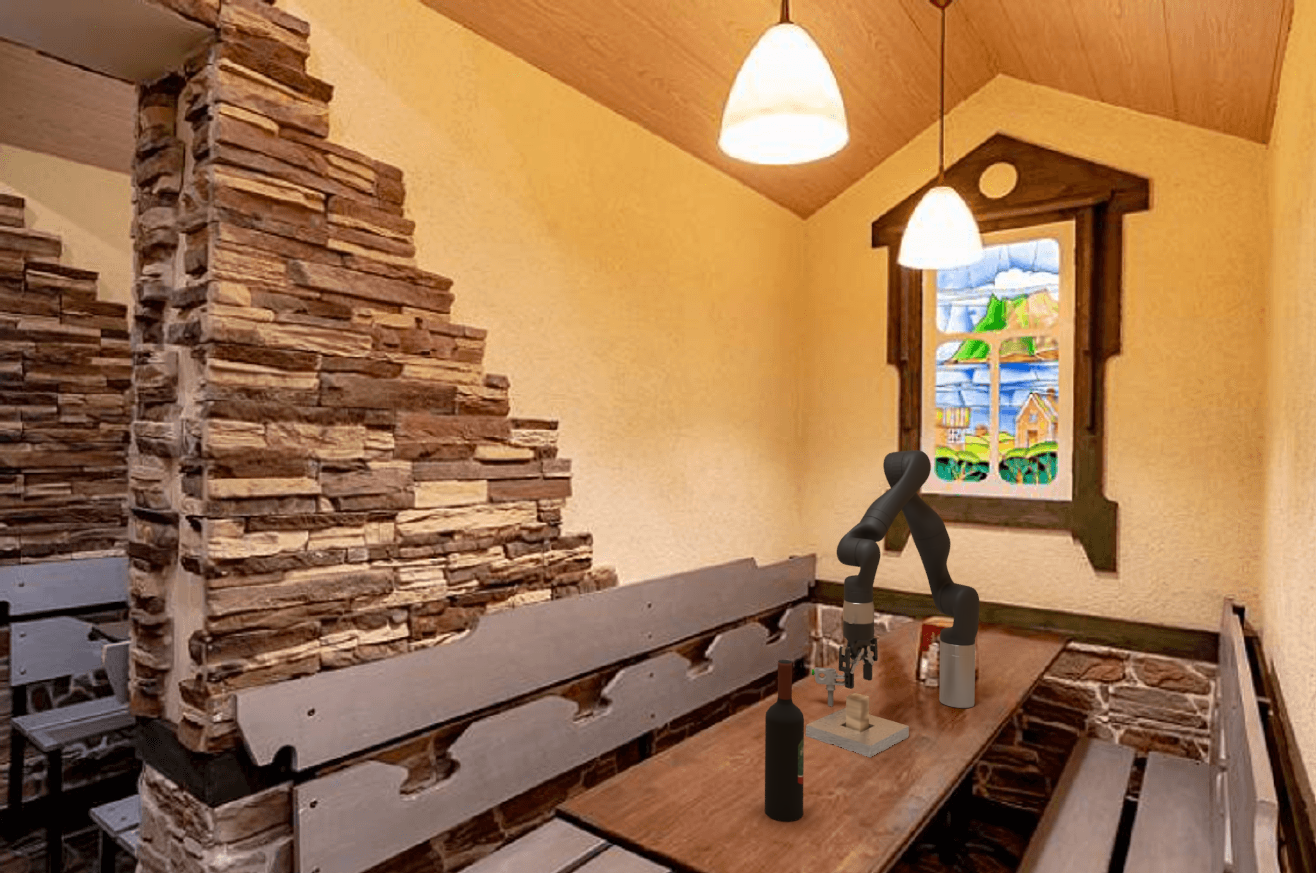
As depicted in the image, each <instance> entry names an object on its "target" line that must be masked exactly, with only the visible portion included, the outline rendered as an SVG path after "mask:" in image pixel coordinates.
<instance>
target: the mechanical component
mask: <svg viewBox="0 0 1316 873" xmlns="http://www.w3.org/2000/svg"><path fill="white" fill-rule="evenodd" d="M821 674H824V676H821ZM811 676H814V680H815V681H814V682H816V684H818V685H825V686H826V687H825V689H826V691H827V706H828V707H829V706H831V707H833V706H834V691H836V686H841V687H843V686H844V687H845V674H844V672H843V673H842V675H841V674H839V673H838V672H837V669H836V668H832V667H817V666H816V667H814V668H813V669H812V668H811ZM838 680H839V681H838ZM840 680H841V681H840ZM842 680H843V681H842ZM831 707H830V708H831Z"/></svg>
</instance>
